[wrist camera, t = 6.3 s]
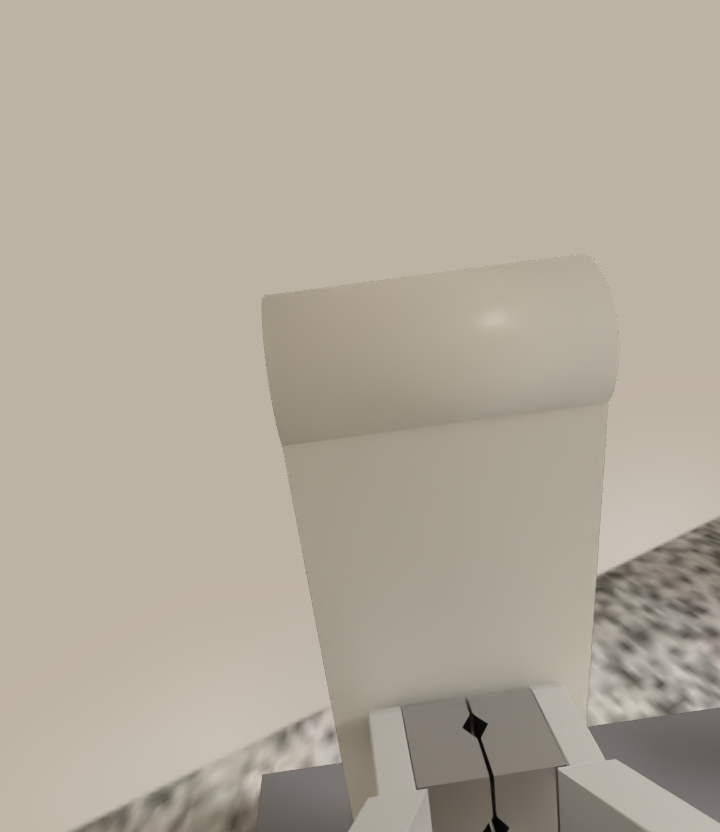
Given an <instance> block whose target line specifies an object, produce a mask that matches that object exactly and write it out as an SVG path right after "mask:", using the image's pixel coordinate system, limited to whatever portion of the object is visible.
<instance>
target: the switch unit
mask: <svg viewBox="0 0 720 832" xmlns="http://www.w3.org/2000/svg"><path fill="white" fill-rule="evenodd" d="M588 729H589V731H590V733H591V735H592V736H593V738H594V740H595V742H596V743H597V745H598V747H599V749H600V751H601V752H602V754H603V756H604V758H605V760H612V759H617V760H618V761H620V762H621V763H623V764H625V765H626V766H628V767H630V768H631V769H633V770H634V771H636V772H638V773H639V774H641V775H642V776H644V777H646V778H647V779H649V780H651V781H652V782H654V783H655V784H657V785H659V786H660V787H662V788H663V789H665V790H667V791H668V792H670V793H672V794H673V795H675V796H676V797H678V798H680V799H681V800H683V801H685V802H686V803H688V804H689V805H691V806H693V807H694V808H696V809H697V810H699V811H701V812H702V813H704V814H706V815H707V816H709V817H710V818H712V819H714V820H715V821H717V822H719V823H720V708H714V709H707V710H700V711H693V712H687V713H680V714H673V715H666V716H659V717H652V718H646V719H639V720H632V721H625V722H618V723H612V724H605V725H598V726H591V727H588ZM352 824H353V817H352V811H351V806H350V801H349V795H348V790H347V785H346V780H345V774H344V769H343V764H342V763H339V764H332V765H325V766H318V767H311V768H305V769H298V770H291V771H284V772H277V773H270V774H264V775H262V782H261V792H260V801H259V811H258V821H257V830H256V832H348V831H349V829H350V827H351V825H352Z"/></svg>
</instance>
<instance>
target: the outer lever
mask: <svg viewBox="0 0 720 832" xmlns="http://www.w3.org/2000/svg"><path fill="white" fill-rule="evenodd" d="M262 328H263V329H262V330H263V341H264V350H265V359H266V366H267V374H268V380H269V388H270V393H271V400H272V404H273V411H274V416H275V420H276V425H277V429H278V433H279V437H280V441H281V444H282V447H283V452H284V457H285V463H286V468H287V473H288V479H289V484H290V489H291V494H292V500H293V505H294V510H295V515H296V521H297V526H298V531H299V536H300V542H301V547H302V553H303V557H304V563H305V569H306V574H307V579H308V584H309V589H310V595H311V600H312V605H313V610H314V616H315V621H316V627H317V632H318V637H319V642H320V648H321V653H322V658H323V664H324V668H325V674H326V679H327V685H328V690H329V695H330V700H331V706H332V711H333V716H334V722H335V727H336V732H337V737H338V743H339V748H340V753H341V759H342V764H343V769H344V774H345V780H346V785H347V790H348V795H349V801H350V806H351V811H352V817H353V822H354V820H355V818H356V817H357V815H358V813H359V812H360V810H361V808H362V806H363V805H364V803H365V801H366V800H367V798H370V797H375V796H377V790H376V782H375V773H374V765H373V756H372V747H371V739H370V730H369V721H368V710H374V709H382V708H390V707H398V706H399V707H400V709H401V705H409V704H417V703H424V702H432V701H440V700H448V699H456V698H464V700H465V697H470V696H476V695H483V694H489V693H495V692H502V691H508V690H514V689H520V688H528V686H534V685H540V684H546V683H551V682H557V681H559V682H560V683H562V684H563V685H564V686H565V688H566V690H567V691H568V693H569V695H570V697H571V699H572V700H573V702H574V704H575V706H576V708H577V709H578V711H579V713H580V715H581V717H582V718H583V720H584V722H585V724H586V721H587V707H588V692H589V678H590V663H591V649H592V634H593V620H594V605H595V591H596V576H597V561H598V547H599V533H600V518H601V504H602V489H603V475H604V460H605V446H606V431H607V416H608V402H609V400H610V398H611V396H612V394H613V391H614V388H615V384H616V380H617V375H618V367H619V330H618V322H617V316H616V310H615V306H614V301H613V297H612V294H611V291H610V288H609V285H608V282H607V280H606V278H605V275H604V274H603V272H602V270H601V269H600V267H599V265H598V264H597V263H596V262H595V260H594V259H592V258H591V257H590V256H588V255H585V254H577V255H570V256H562V257H554V258H547V259H539V260H532V261H524V262H516V263H509V264H501V265H493V266H486V267H479V268H471V269H463V270H455V271H447V272H440V273H432V274H425V275H417V276H409V277H402V278H394V279H386V280H379V281H371V282H363V283H357V284H348V285H341V286H333V287H325V288H318V289H310V290H302V291H295V292H287V293H280V294H272V295H264V296H263V298H262Z"/></svg>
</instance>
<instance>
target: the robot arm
mask: <svg viewBox="0 0 720 832" xmlns="http://www.w3.org/2000/svg"><path fill="white" fill-rule="evenodd" d="M368 721H369V730H370V739H371V747H372V756H373V765H374V773H375V782H376V790H377V796H375V797H370V798H367V800H366V801H365V803H364V805H363V806H362V808H361V810H360V812H359V813H358V815H357V817H356V818H355V820H354V822H353V824H352V825H351V827H350V829H349V831H348V832H720V823H719V822H717V821H715V820H714V819H712V818H710V817H709V816H707V815H706V814H704V813H702V812H701V811H699V810H697V809H696V808H694V807H693V806H691V805H689V804H688V803H686V802H685V801H683V800H681V799H680V798H678V797H676V796H675V795H673V794H672V793H670V792H668V791H667V790H665V789H663V788H662V787H660V786H659V785H657V784H655V783H654V782H652V781H651V780H649V779H647V778H646V777H644V776H642V775H641V774H639V773H638V772H636V771H634V770H633V769H631V768H630V767H628V766H626V765H625V764H623V763H621V762H620V761H618V760H617V759H612V760H605V758H604V756H603V754H602V752H601V751H600V749H599V747H598V745H597V743H596V742H595V740H594V738H593V736H592V735H591V733H590V731H589V729H588V727H587V726H586V724H585V722H584V720H583V718H582V717H581V715H580V713H579V711H578V709H577V708H576V706H575V704H574V702H573V700H572V699H571V697H570V695H569V693H568V691H567V690H566V688H565V686H564V685H563V684H562V683H560V682H559V681H557V682H551V683H546V684H540V685H534V686H528V688H520V689H514V690H508V691H502V692H495V693H489V694H483V695H476V696H470V697H465V700H464V698H456V699H448V700H440V701H432V702H424V703H417V704H409V705H401V709H400V707H399V706H398V707H390V708H382V709H374V710H368Z"/></svg>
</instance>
